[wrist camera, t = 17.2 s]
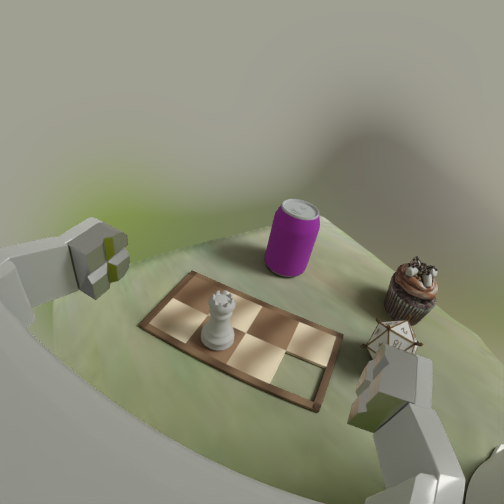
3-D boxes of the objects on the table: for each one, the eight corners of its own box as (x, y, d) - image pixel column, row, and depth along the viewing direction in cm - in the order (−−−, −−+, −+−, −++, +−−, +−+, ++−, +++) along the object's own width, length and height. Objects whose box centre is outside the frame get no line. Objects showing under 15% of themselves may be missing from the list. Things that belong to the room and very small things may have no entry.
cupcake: (376, 316, 49) (402, 271, 44) (383, 285, 57) (404, 243, 51) (422, 336, 47) (452, 295, 41) (424, 303, 54) (448, 263, 48)
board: (342, 336, 45) (343, 334, 45) (317, 412, 34) (319, 411, 34) (192, 272, 51) (192, 270, 51) (139, 326, 40) (138, 324, 40)
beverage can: (279, 247, 61) (294, 192, 54) (312, 267, 58) (331, 211, 51) (254, 263, 56) (267, 204, 49) (289, 286, 52) (308, 226, 45)
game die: (360, 378, 43) (344, 343, 38) (384, 335, 47) (371, 295, 42) (411, 394, 36) (405, 359, 32) (433, 346, 40) (428, 305, 36)
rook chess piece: (238, 333, 42) (247, 292, 37) (226, 357, 38) (233, 317, 34) (208, 321, 43) (213, 279, 38) (194, 344, 39) (196, 302, 35)
